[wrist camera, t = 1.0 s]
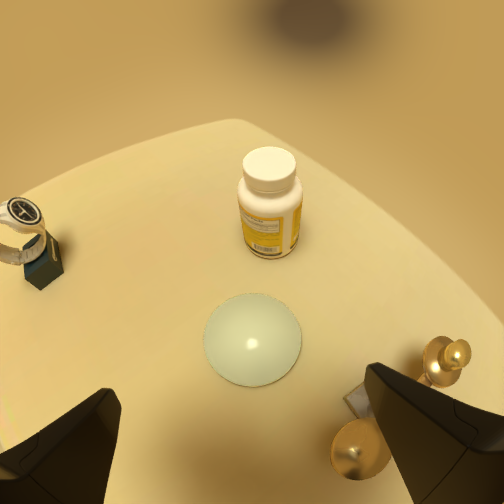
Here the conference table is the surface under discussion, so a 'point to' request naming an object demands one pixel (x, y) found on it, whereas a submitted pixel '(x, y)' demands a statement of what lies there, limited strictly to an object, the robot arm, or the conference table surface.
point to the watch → (30, 243)
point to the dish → (252, 339)
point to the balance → (366, 428)
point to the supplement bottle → (270, 202)
